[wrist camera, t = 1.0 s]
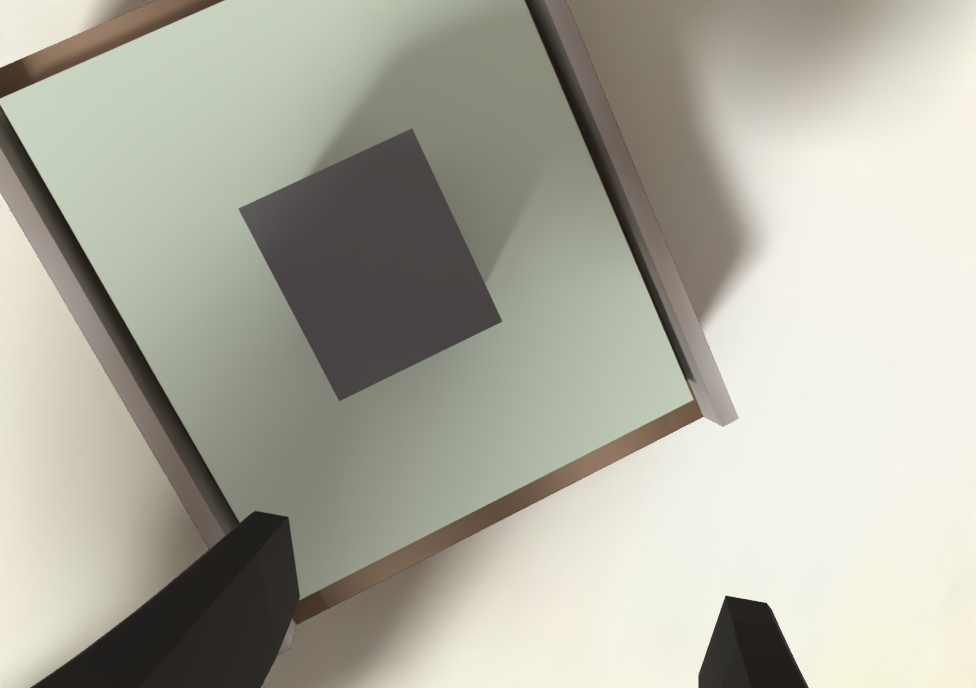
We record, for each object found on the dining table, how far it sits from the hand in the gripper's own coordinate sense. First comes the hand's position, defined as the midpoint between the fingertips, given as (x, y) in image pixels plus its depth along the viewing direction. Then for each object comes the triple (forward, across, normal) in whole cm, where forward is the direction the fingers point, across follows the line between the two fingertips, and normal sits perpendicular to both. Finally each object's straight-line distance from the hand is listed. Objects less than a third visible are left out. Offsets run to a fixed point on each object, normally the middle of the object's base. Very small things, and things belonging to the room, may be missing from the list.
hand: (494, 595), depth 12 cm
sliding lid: (+8, +5, -2) cm, 10 cm away
